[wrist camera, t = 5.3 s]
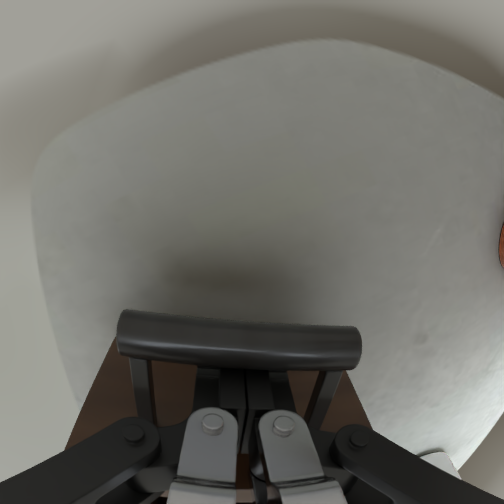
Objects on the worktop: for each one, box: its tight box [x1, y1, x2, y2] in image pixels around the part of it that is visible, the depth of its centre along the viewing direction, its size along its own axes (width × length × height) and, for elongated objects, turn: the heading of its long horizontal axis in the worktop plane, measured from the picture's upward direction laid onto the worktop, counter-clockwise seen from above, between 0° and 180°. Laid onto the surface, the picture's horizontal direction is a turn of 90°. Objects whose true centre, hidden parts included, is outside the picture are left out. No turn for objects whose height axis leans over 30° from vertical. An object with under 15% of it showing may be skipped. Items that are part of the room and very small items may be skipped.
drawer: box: [64, 309, 373, 504], centre depth 13 cm, size 20×12×8 cm, turn 173°
